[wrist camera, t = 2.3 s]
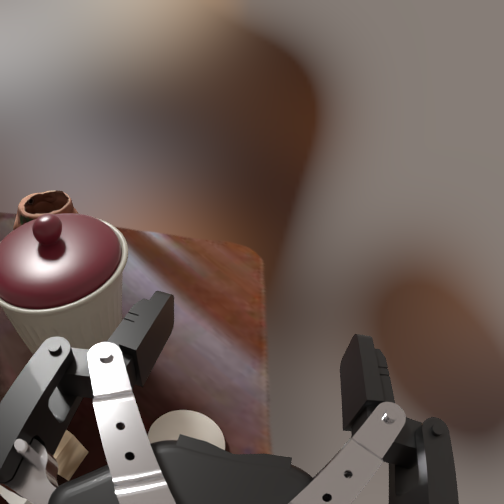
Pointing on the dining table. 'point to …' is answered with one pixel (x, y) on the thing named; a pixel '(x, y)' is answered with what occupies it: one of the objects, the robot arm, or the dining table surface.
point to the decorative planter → (43, 206)
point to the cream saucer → (186, 428)
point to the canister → (63, 279)
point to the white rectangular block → (12, 497)
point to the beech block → (69, 455)
